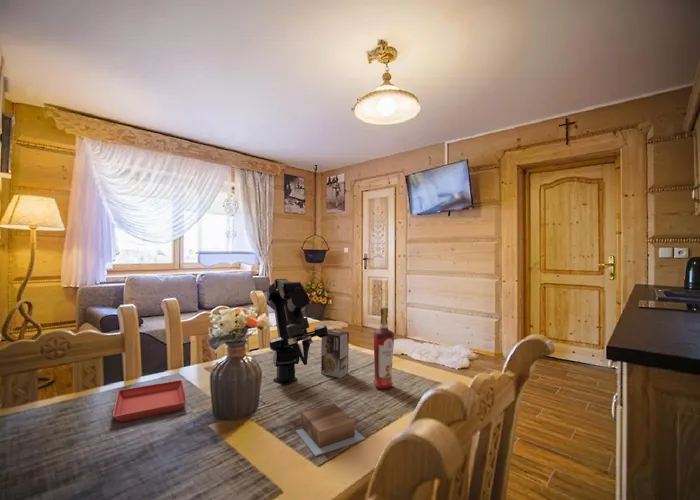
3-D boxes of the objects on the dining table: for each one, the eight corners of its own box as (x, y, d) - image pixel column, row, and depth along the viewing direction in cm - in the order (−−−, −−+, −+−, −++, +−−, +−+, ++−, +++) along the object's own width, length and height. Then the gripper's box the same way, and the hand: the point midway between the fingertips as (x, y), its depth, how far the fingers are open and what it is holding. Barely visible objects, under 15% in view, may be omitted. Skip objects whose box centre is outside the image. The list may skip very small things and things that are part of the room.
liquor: (386, 381, 122) (387, 305, 122) (397, 388, 116) (398, 308, 116) (368, 384, 119) (370, 306, 119) (379, 392, 113) (380, 310, 112)
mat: (295, 431, 88) (295, 430, 88) (341, 418, 95) (341, 417, 95) (315, 456, 77) (315, 455, 77) (365, 439, 85) (365, 438, 85)
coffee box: (348, 373, 129) (349, 332, 129) (339, 378, 124) (340, 335, 124) (330, 368, 134) (330, 328, 134) (320, 373, 129) (321, 332, 129)
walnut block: (301, 412, 89) (319, 431, 80) (334, 403, 95) (354, 421, 85) (301, 427, 89) (319, 448, 80) (334, 417, 95) (354, 436, 85)
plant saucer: (187, 412, 98) (187, 400, 98) (111, 428, 88) (112, 415, 88) (182, 389, 113) (182, 379, 113) (117, 400, 104) (117, 390, 104)
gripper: (261, 320, 102) (270, 372, 96) (320, 303, 104) (332, 353, 98) (269, 326, 112) (278, 374, 107) (323, 311, 114) (334, 357, 108)
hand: (305, 364), depth 105 cm, fingers closed
